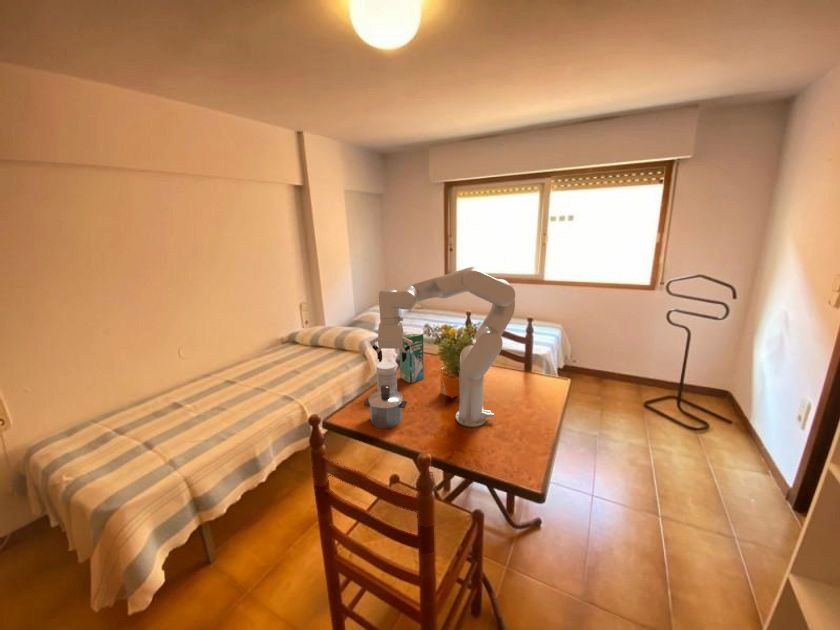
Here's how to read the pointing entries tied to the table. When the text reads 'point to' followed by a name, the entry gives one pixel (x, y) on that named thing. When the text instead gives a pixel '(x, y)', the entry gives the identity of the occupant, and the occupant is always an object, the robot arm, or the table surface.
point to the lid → (385, 398)
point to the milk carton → (413, 359)
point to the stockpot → (386, 415)
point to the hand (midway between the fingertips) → (392, 360)
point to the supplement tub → (387, 375)
